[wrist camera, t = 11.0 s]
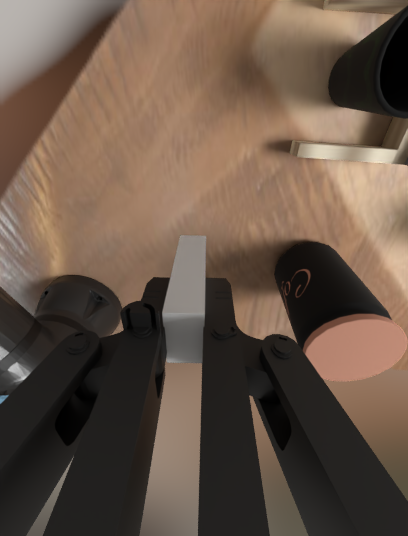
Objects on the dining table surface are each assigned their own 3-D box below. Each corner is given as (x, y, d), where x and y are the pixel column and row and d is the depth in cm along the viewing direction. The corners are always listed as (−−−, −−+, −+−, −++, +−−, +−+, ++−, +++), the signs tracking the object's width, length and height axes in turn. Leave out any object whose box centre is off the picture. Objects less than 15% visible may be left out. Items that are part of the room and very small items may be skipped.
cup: (382, 110, 29) (470, 107, 19) (316, 123, 30) (366, 127, 20) (398, 24, 25) (519, -39, 15) (321, 42, 26) (386, -4, 16)
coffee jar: (283, 234, 39) (326, 313, 23) (348, 243, 39) (431, 326, 24) (266, 286, 44) (291, 376, 29) (322, 294, 45) (376, 386, 30)
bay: (289, 153, 32) (299, 158, 28) (327, -12, 24) (349, -37, 20) (392, 160, 32) (417, 166, 28) (466, -3, 24) (515, -26, 20)
